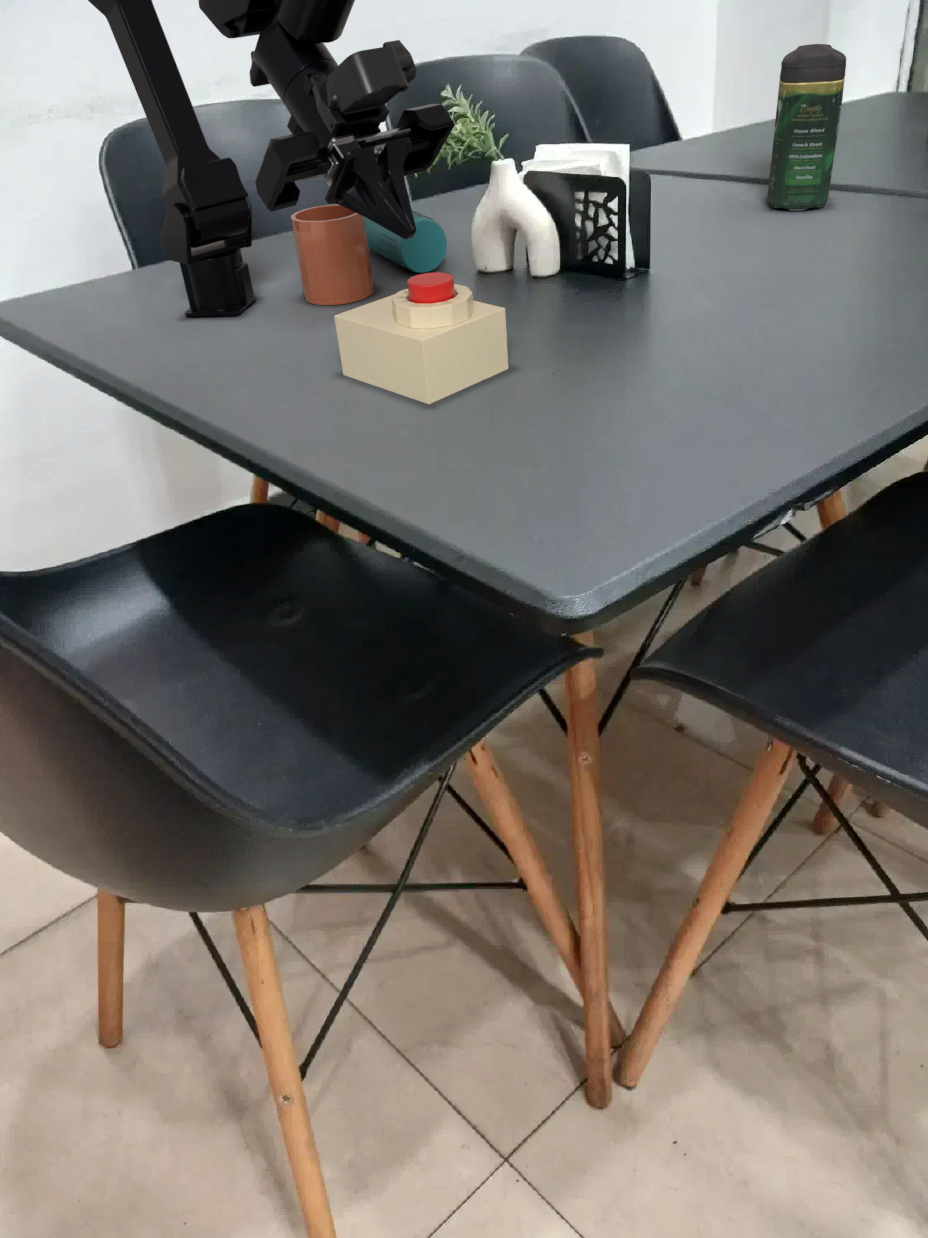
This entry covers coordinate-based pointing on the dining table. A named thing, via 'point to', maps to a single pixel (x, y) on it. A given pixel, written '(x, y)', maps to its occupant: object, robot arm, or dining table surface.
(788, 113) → the coffee jar
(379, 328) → the red push button box
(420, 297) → the power button
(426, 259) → the beverage bottle
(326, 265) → the terracotta cup
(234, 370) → the dining table surface
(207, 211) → the robot arm
